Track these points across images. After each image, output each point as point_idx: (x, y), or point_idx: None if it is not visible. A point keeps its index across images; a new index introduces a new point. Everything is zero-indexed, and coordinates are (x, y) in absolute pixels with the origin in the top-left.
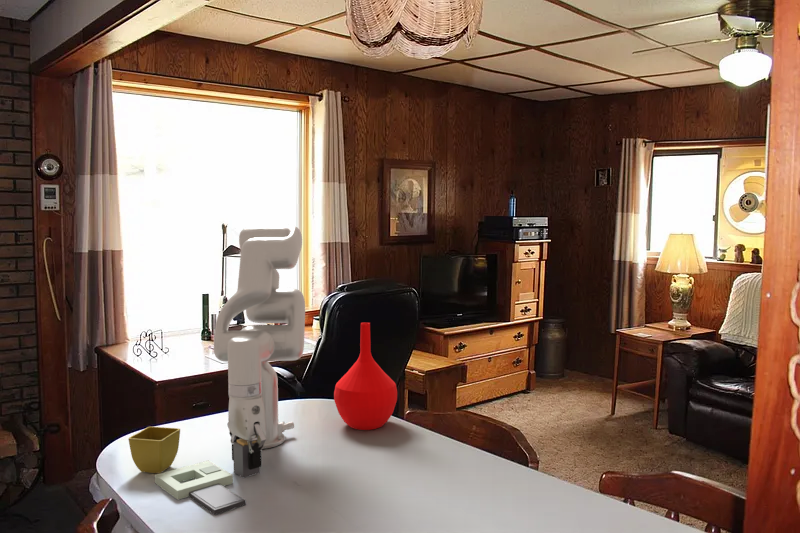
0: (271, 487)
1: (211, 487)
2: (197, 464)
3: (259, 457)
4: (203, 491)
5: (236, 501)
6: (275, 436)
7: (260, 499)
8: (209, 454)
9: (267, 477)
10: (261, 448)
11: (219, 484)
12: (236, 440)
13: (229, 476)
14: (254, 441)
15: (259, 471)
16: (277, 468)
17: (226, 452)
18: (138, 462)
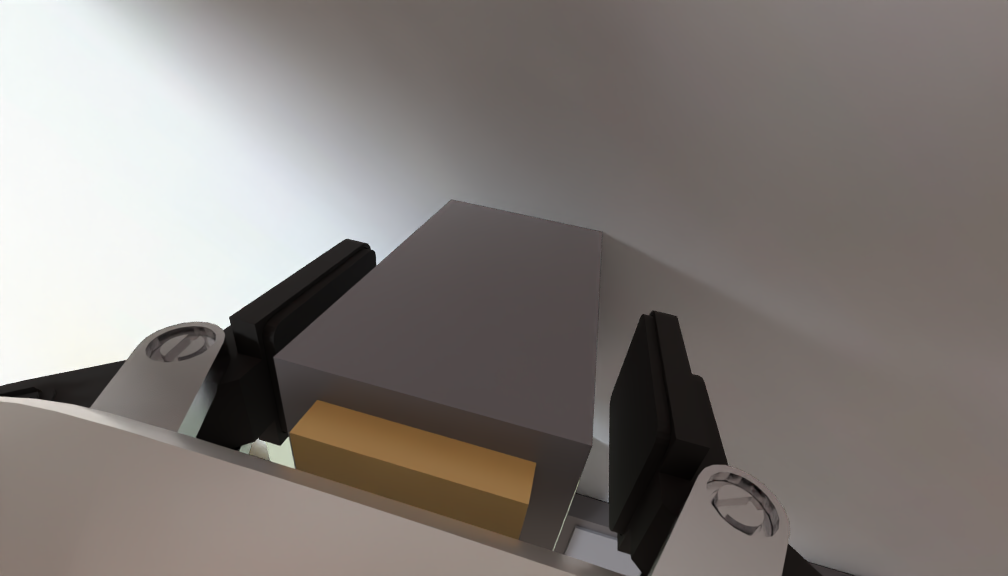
0: (906, 381)
1: (580, 558)
2: (281, 446)
3: (717, 430)
4: None
5: None
6: None
7: (936, 524)
8: (64, 198)
9: (735, 263)
10: (818, 573)
11: (579, 521)
12: (233, 433)
13: (575, 491)
14: (527, 495)
15: (600, 238)
16: (676, 43)
17: (57, 93)
18: None
